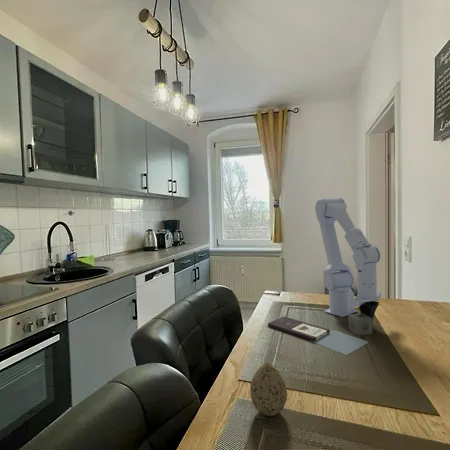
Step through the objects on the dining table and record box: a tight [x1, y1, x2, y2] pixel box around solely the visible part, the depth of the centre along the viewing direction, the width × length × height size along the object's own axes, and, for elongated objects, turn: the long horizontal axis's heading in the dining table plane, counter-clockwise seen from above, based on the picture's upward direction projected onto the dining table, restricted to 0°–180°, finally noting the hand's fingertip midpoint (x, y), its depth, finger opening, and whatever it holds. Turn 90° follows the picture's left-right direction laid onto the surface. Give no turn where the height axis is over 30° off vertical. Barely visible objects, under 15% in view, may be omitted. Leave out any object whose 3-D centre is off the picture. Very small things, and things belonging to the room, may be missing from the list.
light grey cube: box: [347, 312, 373, 336], centre depth 94 cm, size 5×5×5 cm
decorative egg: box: [249, 362, 288, 417], centre depth 58 cm, size 7×7×10 cm
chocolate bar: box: [267, 316, 330, 342], centre depth 97 cm, size 9×1×18 cm
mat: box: [309, 329, 370, 356], centre depth 87 cm, size 12×12×1 cm
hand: (367, 323), depth 97 cm, fingers closed
